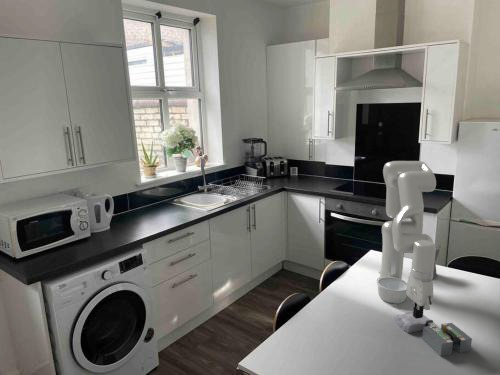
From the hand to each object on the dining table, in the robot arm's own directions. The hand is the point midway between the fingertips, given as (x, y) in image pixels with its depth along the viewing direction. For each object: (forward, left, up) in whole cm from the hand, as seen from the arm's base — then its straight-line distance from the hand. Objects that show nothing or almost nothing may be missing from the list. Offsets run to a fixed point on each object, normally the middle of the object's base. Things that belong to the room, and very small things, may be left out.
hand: (417, 317), depth 147 cm
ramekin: (-23, +4, -5) cm, 24 cm away
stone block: (-3, 0, -6) cm, 7 cm away
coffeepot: (-39, +32, -5) cm, 51 cm away
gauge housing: (+11, +4, -5) cm, 13 cm away
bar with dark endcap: (+7, +4, -4) cm, 9 cm away
